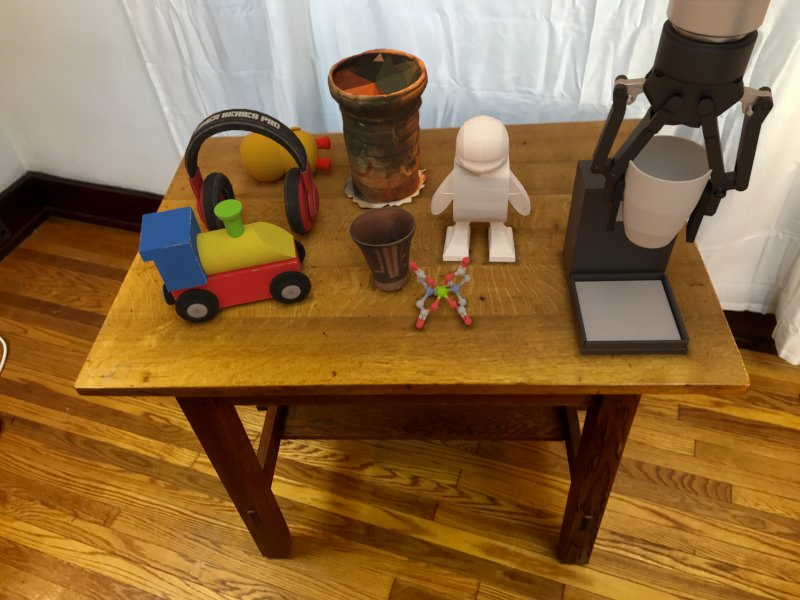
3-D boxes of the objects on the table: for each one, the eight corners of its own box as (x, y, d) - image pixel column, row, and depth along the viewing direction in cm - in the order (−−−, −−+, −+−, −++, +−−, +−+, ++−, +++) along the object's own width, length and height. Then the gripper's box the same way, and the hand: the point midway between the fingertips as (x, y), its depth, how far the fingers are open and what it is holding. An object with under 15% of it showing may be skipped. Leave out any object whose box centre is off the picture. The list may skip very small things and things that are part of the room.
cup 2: (699, 252, 67) (729, 176, 59) (625, 262, 67) (646, 187, 59) (668, 205, 72) (692, 130, 65) (600, 214, 72) (616, 140, 65)
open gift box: (686, 354, 75) (728, 258, 64) (581, 355, 76) (604, 261, 64) (651, 252, 87) (681, 156, 76) (562, 254, 88) (577, 160, 77)
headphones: (324, 205, 100) (301, 90, 85) (319, 247, 93) (293, 130, 78) (217, 211, 101) (176, 98, 86) (204, 253, 94) (157, 138, 79)
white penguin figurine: (430, 260, 89) (424, 140, 75) (434, 220, 95) (429, 101, 81) (528, 262, 88) (542, 139, 73) (525, 221, 94) (538, 100, 79)
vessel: (433, 210, 97) (429, 92, 82) (342, 215, 98) (322, 99, 83) (430, 157, 107) (426, 43, 92) (348, 161, 107) (330, 49, 93)
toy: (332, 135, 108) (246, 139, 108) (327, 116, 100) (233, 121, 99) (334, 186, 107) (247, 190, 107) (329, 171, 99) (235, 175, 99)
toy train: (171, 286, 89) (130, 204, 78) (308, 259, 91) (287, 175, 80) (168, 332, 83) (124, 251, 72) (315, 302, 85) (293, 218, 74)
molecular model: (411, 290, 86) (407, 251, 80) (468, 286, 85) (469, 246, 80) (413, 330, 81) (410, 291, 75) (474, 326, 80) (475, 286, 75)
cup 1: (389, 246, 92) (383, 191, 85) (432, 274, 87) (430, 219, 80) (344, 277, 88) (333, 223, 81) (387, 309, 84) (380, 255, 76)
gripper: (842, 11, 52) (748, 220, 69) (590, -3, 57) (560, 196, 74) (857, 53, 47) (752, 267, 64) (581, 34, 52) (551, 237, 69)
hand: (649, 228), depth 69 cm, fingers closed on cup 2, 8 cm apart
